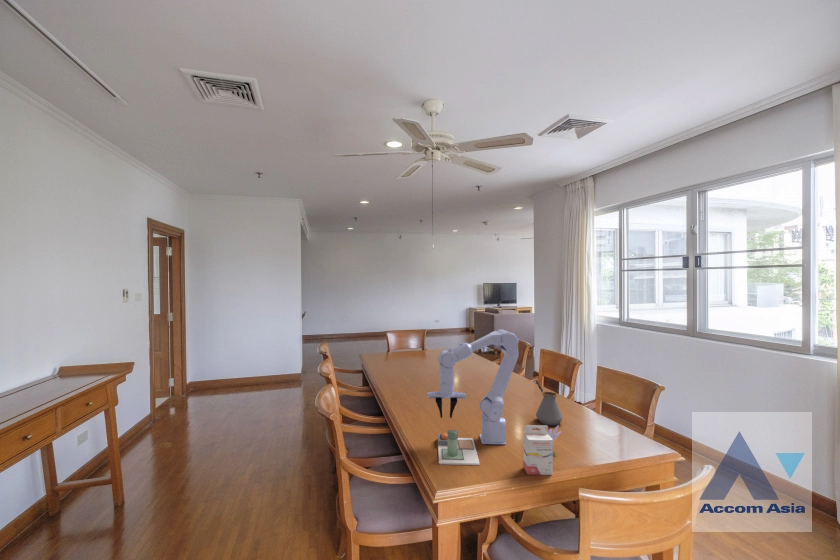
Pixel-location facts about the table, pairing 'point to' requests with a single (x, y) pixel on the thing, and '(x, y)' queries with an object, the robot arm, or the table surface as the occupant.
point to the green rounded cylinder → (452, 442)
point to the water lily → (554, 434)
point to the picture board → (458, 452)
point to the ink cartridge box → (537, 450)
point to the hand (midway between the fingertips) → (446, 416)
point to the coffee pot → (548, 409)
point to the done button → (444, 436)
